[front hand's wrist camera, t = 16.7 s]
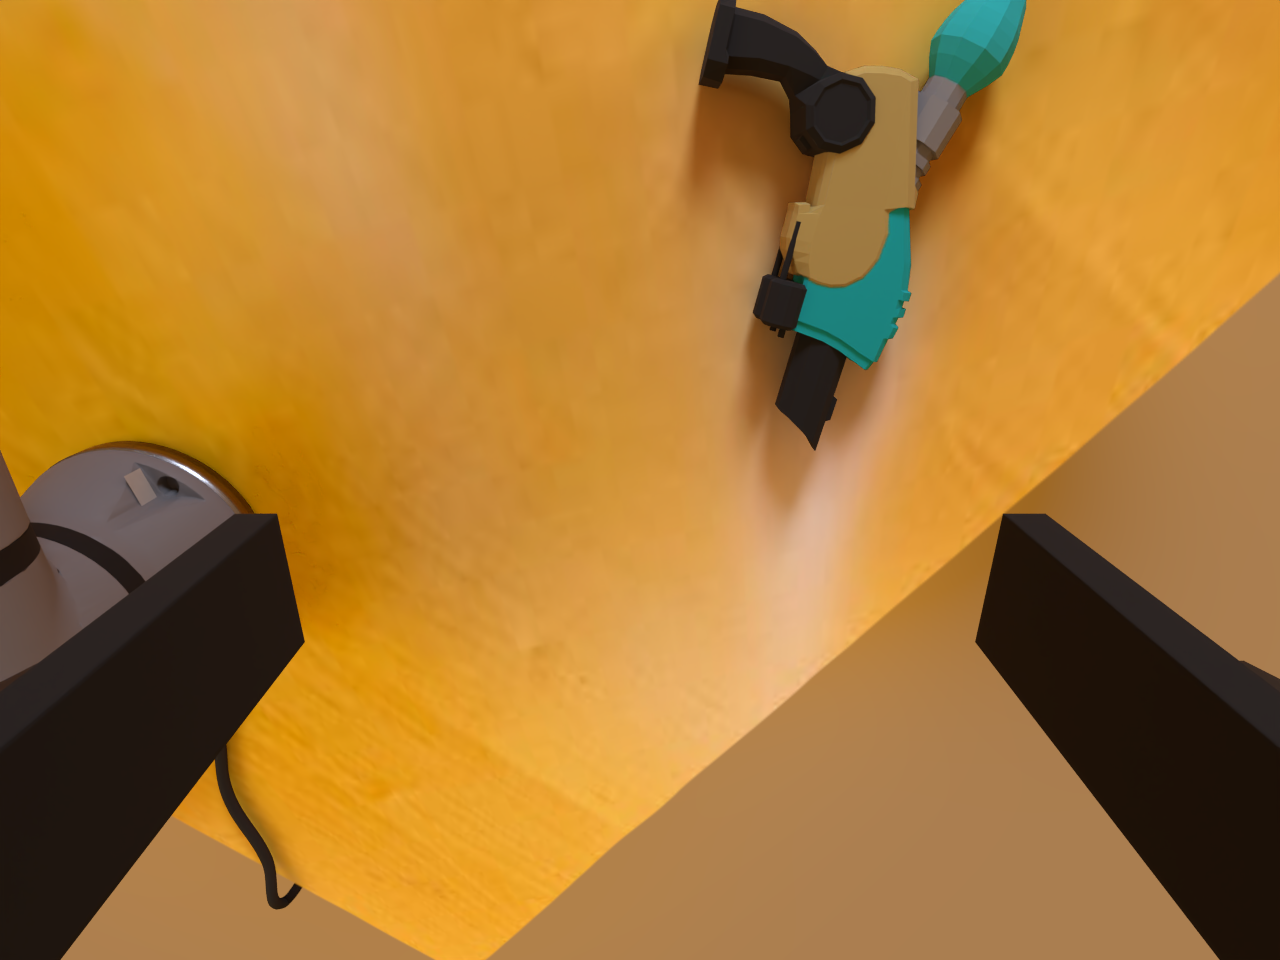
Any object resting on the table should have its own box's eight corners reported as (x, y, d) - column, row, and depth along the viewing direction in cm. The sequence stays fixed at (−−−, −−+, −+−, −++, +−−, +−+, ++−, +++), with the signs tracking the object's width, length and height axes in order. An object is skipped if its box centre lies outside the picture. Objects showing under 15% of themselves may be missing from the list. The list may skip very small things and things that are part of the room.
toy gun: (626, 419, 39) (874, 472, 41) (750, -131, 30) (1063, -40, 32) (627, 399, 43) (851, 448, 45) (736, -90, 34) (1014, -11, 36)
